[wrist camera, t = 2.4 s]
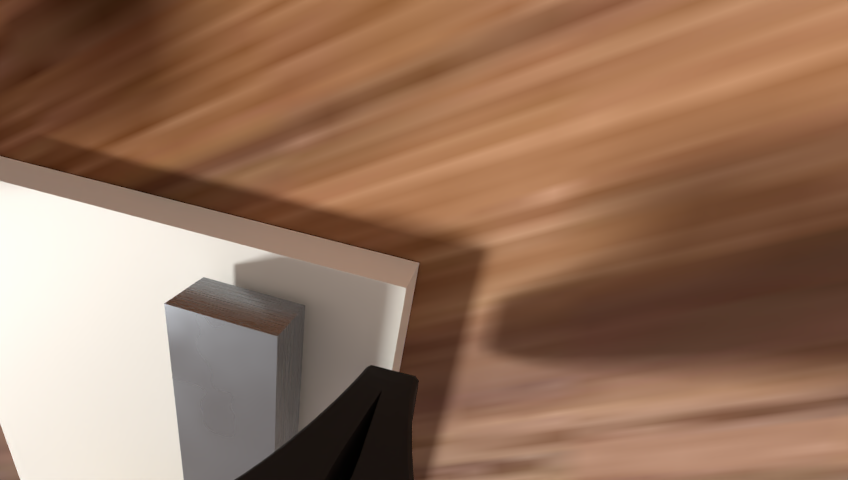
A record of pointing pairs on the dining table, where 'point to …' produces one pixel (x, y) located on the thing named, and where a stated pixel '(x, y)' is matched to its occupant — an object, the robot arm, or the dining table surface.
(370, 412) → the robot arm
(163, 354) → the base board
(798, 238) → the dining table surface
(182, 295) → the latch bar
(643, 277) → the dining table surface
